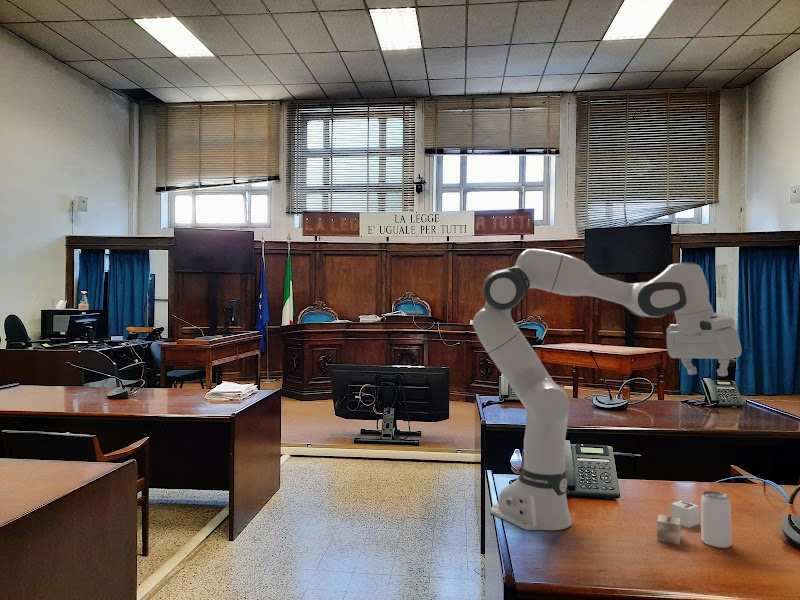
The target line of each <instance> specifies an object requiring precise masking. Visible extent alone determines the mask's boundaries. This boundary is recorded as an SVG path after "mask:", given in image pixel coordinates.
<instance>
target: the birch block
mask: <svg viewBox="0 0 800 600" xmlns="http://www.w3.org/2000/svg"><path fill="white" fill-rule="evenodd" d="M681 539H682V525H681V518H677V517H671V515H664V514H658V516H657V520H656V541H660V542H663V543H667V544H673V545H678V546H679V545H681V544H680V543H681Z"/></svg>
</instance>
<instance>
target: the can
mask: <svg viewBox="0 0 800 600" xmlns="http://www.w3.org/2000/svg"><path fill="white" fill-rule="evenodd" d="M700 528H701V529H700V531H701V532H700V534H701V535H700V536H701V537H700V538H701V541H702V542H703V543H704V544H705V545H707V546H710V547H712V548H718V549H728V548H730V547H731V546H732V504H731V501H730V499H729V495H727V494H726V493H723V492H719V491H713V490H707V491H703V492H702V496H701V497H700Z"/></svg>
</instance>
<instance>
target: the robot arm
mask: <svg viewBox="0 0 800 600" xmlns="http://www.w3.org/2000/svg"><path fill="white" fill-rule="evenodd" d="M529 289H530V290H531V289H536V290H537V289H538V290H542V291H545V292H547V293H552V294H556V295H561V296H567V297H595V298H598V299H601V300H604V301H608V302H612V303H614V304H619V305H621V306H623V307H624V308H625V309H627V310H628V311H629V312H630V313H632V315H635V316H636V317H641V318H662V317H665V316H666V315H669V314H672V313H674V316H675V320H676V323H675V324H672V323H671V324H669V325H668V327H666V349H667V354H668V356H669V357H670V359H680V361H681V364H682V365H683V366H684V367H685V368H686V371H687V375H691V376H693V375H697V374H698V371H697V367H696V366H694V364H692V362H691V361H692V359H703V360H704V359H706V360H707V359H710V360H711V359H712V360H714V359H715V360H717V361H718V363H719V364H720V365H719V368H717V369H716V373H717V376H718V377H727V376H728V375H729V372H728V367H729V365H730V360H732V359H735V358H736V359H737V358H739V357H741V355H742V352H743V350H742V345H741V341H740V336H739V333H738V331H737V330H736V329H735V328H734V325H735V321H734V320H735V319H734V318H733V317H731V316H727V315H723V314H719V313H717V312H714V308H713V306H712V304H711V302H710V298H709V297H710V290H709V286H708V282H707V279H706V276H705V273H704V271H703V268H702V267H701V266H700V265H699V264H698V263H696V262H678V263H677V262H676V263H671V264H669V265H667V267H666V268H665V269H664V270H662V272H660V273H659V274H658V275H657V276H655V277H653V278H652V279H650V280H649V281H640V282H638V281H637V282H633V283H632V282H625V281H622V280H618V279H614V278H610V277H607V276H603V275H601V274H599V273H597V272H595V271H594V269H592V268H591V267H590V265H589V264H588V262H586V261H584V260H581V259H579V258H578V257H575V256H573V255H569V254H565V253H562V252H557V251H554V250H547V249H539V248H527V249H525V250H523V251H522V252H521V253H520V254H519V255H518V257H517V259H516V261H515V264H514V266H512V267H508V268H501V269H500V268H499V269H496V270H493V271H492V272H491V273H489V274H488V275H487V276H486V277H485V280H484V282H483V286H482V294H483V297H484V298H483V299H485V304H484V306H483V307H481V308H480V309H479V310H478V311H477V312H476V313H475V315H474V317H473V319H472V327H473V330H474V332H475V334H476V336H477V337H478V340H479V341H480V343H481V344H482V347H483V349H484V350H485V352H486V353H487V354H488V356H489V357H490V359H491V360H492V362H493V363H494V365H495V366H496V367H497V369H498V370H499V372H500V373H501V375H502V376H503V377H504V379H505V381H507V384H508V385H509V386H510V388H511V389H512V391H513V392H514V394H515V395H516V396H517V398H518V400H520V403H521V404H522V405H523V407H524V408H525V410H526V418H525V419H526V420H525V430H524V438H523V466H521V467H519V468H518V469H515V471H516V472H515V475H517V474H519V475H518V479H516V480H515V481H513V482H511V483H510V484H509V485H507V486H506V487H504V488H502V490H501V491H500V493H499V498H498V502H496V503H495V504H493V505H492V506H491V507H490V514H492V515H493V516H496V517H498V518H500V519H503V520H504V521H507V522H509V523H510V524H513V525H515V526H517V527H519V528H521V529H524V531H537V530H540V531H559V530H564V529H567V528H569V527H571V526H572V523H573V522H572V519H571V515H570V511H569V507H568V506H569V505H568V499H567V497H568V496H567V490H568V474H567V472H568V471H567V470H566V438H567V437H566V436H567V431H568V430H567V429H568V421H569V413H570V408H571V407H570V399H569V396H568V394H567V392H566V391H565V389H563V387H562V386H560V385H559V384H557V383H556V382H555V381H554V379H553V378H552V377H551V375H550V374H549V372H548V371H547V369H546V368H545V366H544V364H543V363H542V361H541V359H540V358H539V356H538V354H537V352H536V351H535V350H534V349H533V347H532V346H531V344H530V343H529V341H528V339H526V337H525V335H524V334H523V332H522V331H521V330H520V328H519V326H517V324H516V323H515V321H514V319H513V318H512V315H511V310H512V309H513V308H515V307H516V306H518V304H520V302H521V301H522V300H523V298H524V296H525V295H526V293H527V292H528V290H529Z"/></svg>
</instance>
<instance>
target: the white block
mask: <svg viewBox="0 0 800 600" xmlns="http://www.w3.org/2000/svg"><path fill="white" fill-rule="evenodd" d="M670 516H671V517H677V518H681V527H685V528H688V529H690V528H693V527H695V526H697V525H700V506H699V504H698V505H697V504H695V503H691V502H687V501H684V500H681V499H680V500H678V501H675V502H671V503H670Z"/></svg>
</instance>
